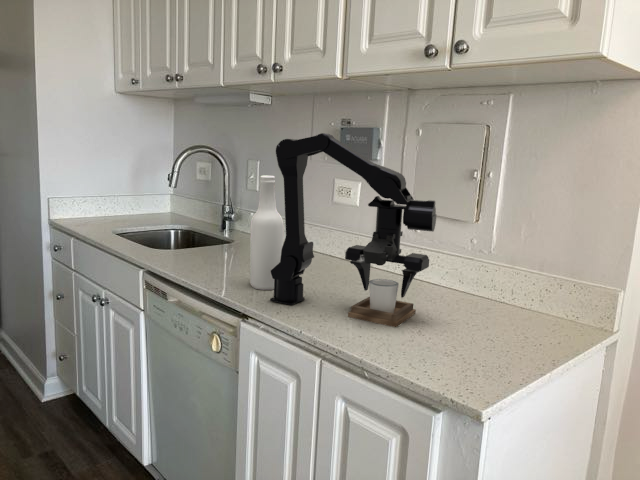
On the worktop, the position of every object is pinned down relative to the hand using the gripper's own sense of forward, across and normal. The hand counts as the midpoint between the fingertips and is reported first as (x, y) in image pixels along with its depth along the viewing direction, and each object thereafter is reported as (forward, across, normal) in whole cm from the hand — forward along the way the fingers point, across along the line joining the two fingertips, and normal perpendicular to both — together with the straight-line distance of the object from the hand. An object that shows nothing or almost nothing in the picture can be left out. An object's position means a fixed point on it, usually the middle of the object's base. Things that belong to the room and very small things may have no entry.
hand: (384, 293), depth 123 cm
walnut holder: (+5, 0, 0) cm, 5 cm away
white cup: (+4, 0, 0) cm, 5 cm away
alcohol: (+5, -36, +4) cm, 37 cm away
